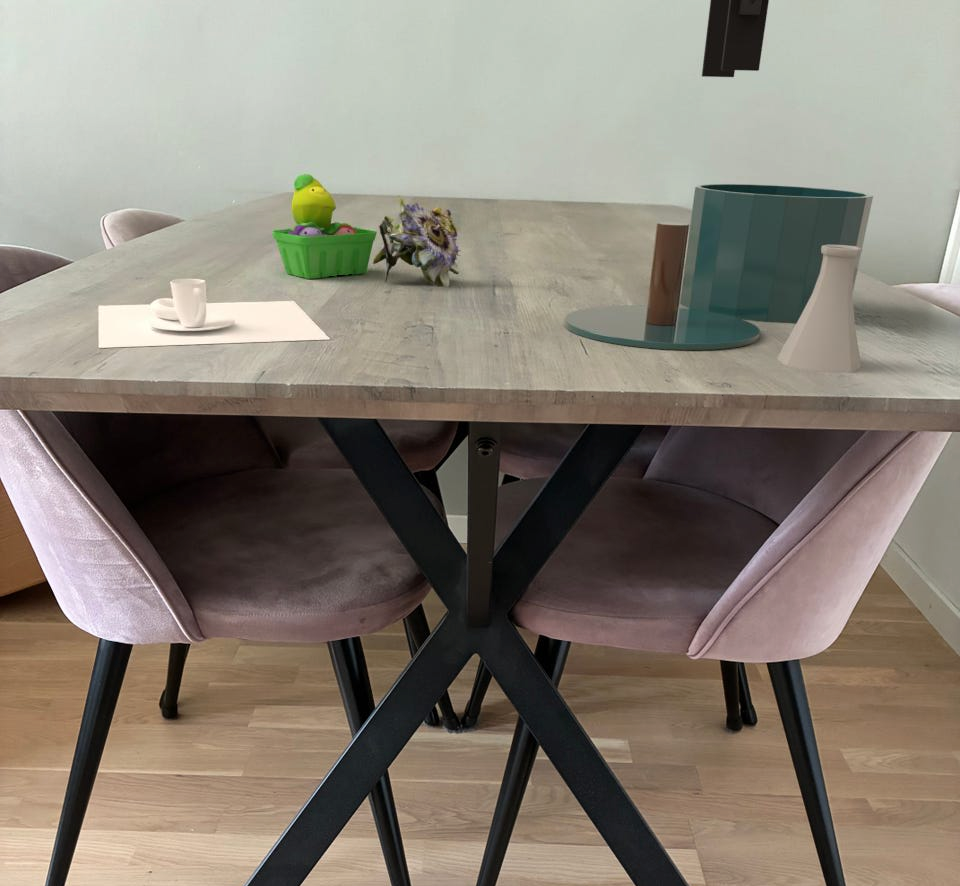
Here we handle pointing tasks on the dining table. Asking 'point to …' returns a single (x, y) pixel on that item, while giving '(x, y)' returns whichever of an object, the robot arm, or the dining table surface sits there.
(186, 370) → the dining table surface
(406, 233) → the passion flower
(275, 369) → the dining table surface
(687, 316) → the lid
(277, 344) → the dining table surface
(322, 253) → the fruit basket
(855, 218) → the pot
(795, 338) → the flask
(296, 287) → the dining table surface
